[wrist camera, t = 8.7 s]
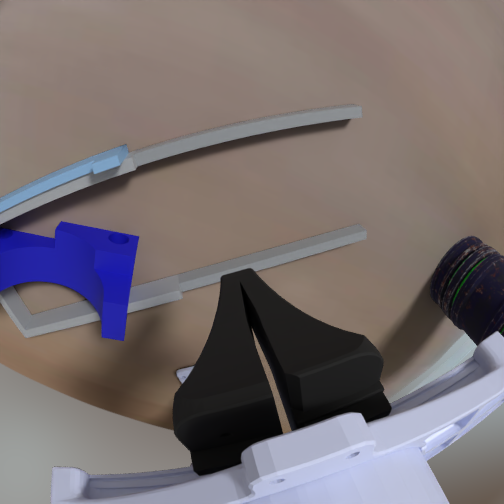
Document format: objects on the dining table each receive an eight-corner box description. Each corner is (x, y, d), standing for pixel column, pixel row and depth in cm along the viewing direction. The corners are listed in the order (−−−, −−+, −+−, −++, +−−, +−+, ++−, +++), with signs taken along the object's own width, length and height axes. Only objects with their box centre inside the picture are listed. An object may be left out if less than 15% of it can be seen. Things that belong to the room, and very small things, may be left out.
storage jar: (444, 313, 36) (508, 390, 23) (417, 286, 31) (501, 382, 18) (489, 257, 33) (562, 324, 20) (471, 219, 28) (567, 296, 16)
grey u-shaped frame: (359, 232, 25) (371, 243, 23) (31, 322, 22) (25, 338, 21) (352, 104, 19) (367, 107, 18) (-27, 221, 17) (-39, 233, 15)
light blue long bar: (128, 152, 18) (120, 165, 15) (-24, 219, 17) (-43, 238, 14) (126, 144, 18) (116, 154, 15) (-26, 212, 16) (-47, 231, 14)
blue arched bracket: (139, 235, 21) (130, 285, 16) (131, 285, 23) (124, 340, 18) (-4, 207, 17) (-44, 246, 12) (-1, 258, 19) (-32, 303, 14)
